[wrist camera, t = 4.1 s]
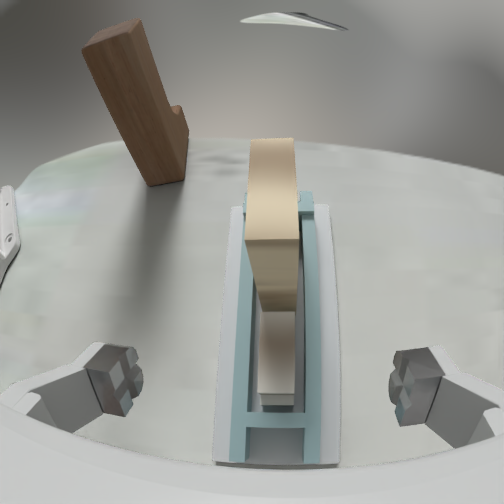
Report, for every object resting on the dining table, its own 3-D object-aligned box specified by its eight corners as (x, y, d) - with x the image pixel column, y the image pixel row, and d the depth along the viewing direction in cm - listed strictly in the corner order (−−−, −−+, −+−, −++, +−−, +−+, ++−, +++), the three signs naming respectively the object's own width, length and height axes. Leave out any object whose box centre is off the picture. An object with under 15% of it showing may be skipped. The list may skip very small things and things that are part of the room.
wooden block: (157, 137, 38) (109, 17, 23) (190, 131, 38) (150, 4, 22) (147, 188, 34) (78, 50, 18) (185, 181, 33) (128, 31, 18)
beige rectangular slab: (295, 315, 24) (299, 238, 14) (263, 315, 24) (244, 239, 15) (294, 236, 27) (293, 137, 18) (265, 237, 28) (251, 139, 18)
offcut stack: (293, 405, 20) (294, 404, 17) (262, 405, 21) (256, 403, 17) (294, 327, 23) (294, 310, 20) (264, 327, 24) (260, 310, 20)
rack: (337, 461, 19) (346, 469, 15) (215, 459, 20) (201, 466, 16) (327, 210, 29) (330, 182, 26) (233, 212, 30) (225, 185, 27)
